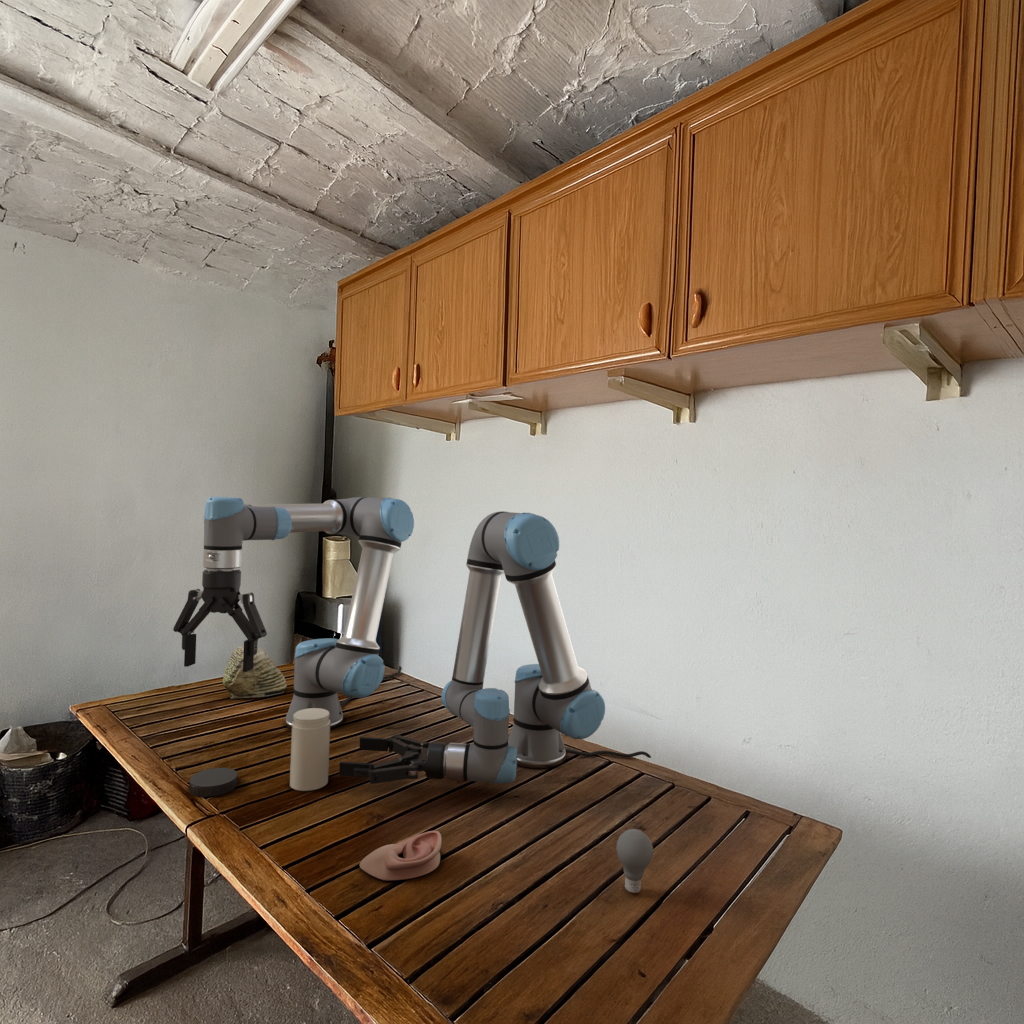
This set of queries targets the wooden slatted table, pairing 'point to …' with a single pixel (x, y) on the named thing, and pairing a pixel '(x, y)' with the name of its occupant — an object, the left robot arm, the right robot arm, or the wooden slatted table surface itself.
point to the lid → (213, 782)
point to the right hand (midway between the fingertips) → (350, 755)
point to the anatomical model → (405, 858)
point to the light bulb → (634, 857)
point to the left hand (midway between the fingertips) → (218, 667)
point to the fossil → (253, 676)
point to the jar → (310, 749)
